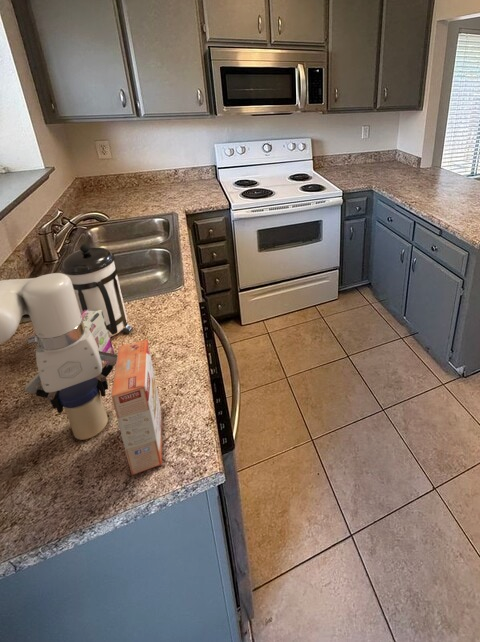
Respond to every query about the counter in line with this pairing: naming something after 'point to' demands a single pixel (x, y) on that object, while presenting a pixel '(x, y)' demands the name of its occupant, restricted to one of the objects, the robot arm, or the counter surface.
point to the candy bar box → (98, 330)
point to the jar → (88, 418)
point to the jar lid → (79, 393)
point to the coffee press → (97, 285)
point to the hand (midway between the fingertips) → (82, 399)
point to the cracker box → (138, 406)
